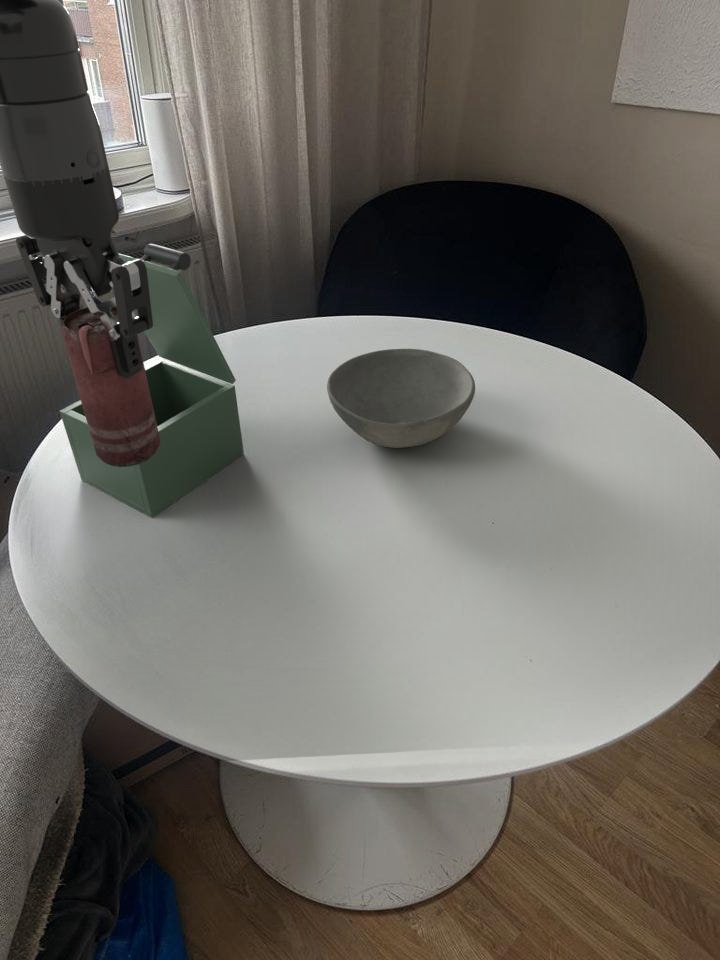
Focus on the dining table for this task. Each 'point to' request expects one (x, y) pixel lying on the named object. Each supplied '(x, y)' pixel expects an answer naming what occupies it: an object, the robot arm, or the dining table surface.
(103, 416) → the can
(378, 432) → the bowl
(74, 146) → the robot arm
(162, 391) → the chest
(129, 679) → the dining table surface
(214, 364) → the lid
